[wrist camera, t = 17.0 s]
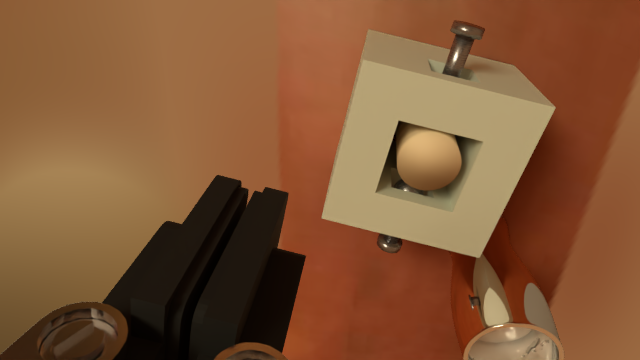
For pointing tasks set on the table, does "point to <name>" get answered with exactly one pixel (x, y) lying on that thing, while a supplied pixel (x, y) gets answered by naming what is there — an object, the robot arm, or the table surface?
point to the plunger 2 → (461, 46)
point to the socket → (440, 114)
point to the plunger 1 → (391, 242)
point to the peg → (426, 156)
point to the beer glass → (500, 305)
